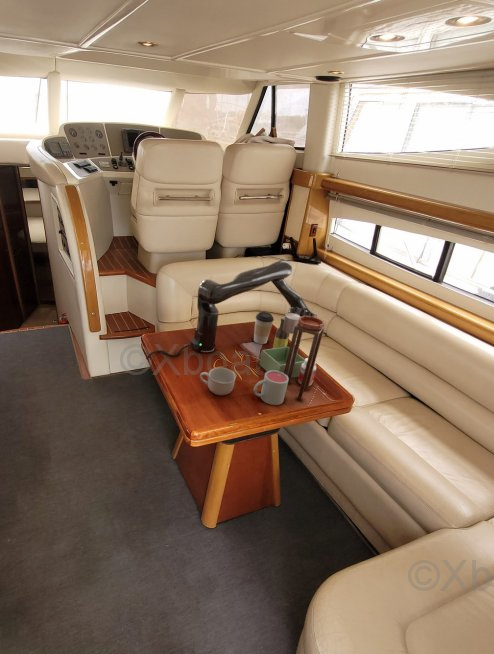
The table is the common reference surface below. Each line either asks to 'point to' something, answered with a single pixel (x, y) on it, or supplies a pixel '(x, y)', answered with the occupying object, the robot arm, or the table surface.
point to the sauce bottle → (281, 336)
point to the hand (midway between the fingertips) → (299, 309)
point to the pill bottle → (304, 371)
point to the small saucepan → (291, 321)
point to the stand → (317, 329)
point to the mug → (273, 387)
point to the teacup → (219, 380)
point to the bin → (279, 360)
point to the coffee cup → (262, 327)
